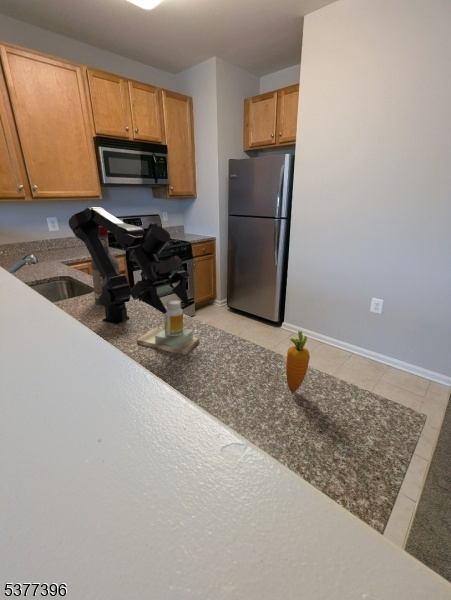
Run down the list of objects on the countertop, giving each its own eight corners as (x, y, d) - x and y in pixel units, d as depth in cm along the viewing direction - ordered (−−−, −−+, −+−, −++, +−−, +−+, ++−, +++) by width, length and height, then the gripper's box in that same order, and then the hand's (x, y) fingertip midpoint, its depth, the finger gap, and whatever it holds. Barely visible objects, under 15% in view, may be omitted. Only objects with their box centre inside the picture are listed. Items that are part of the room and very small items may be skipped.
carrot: (299, 402, 60) (310, 341, 56) (278, 393, 63) (286, 334, 58) (306, 390, 64) (316, 332, 60) (285, 382, 67) (294, 326, 62)
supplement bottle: (186, 331, 83) (186, 300, 80) (176, 338, 78) (176, 306, 75) (171, 327, 85) (171, 297, 82) (160, 334, 80) (160, 302, 77)
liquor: (98, 298, 116) (91, 225, 106) (121, 298, 118) (116, 226, 108) (94, 306, 107) (86, 227, 98) (119, 305, 110) (113, 228, 100)
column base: (137, 343, 81) (136, 332, 80) (154, 331, 89) (154, 321, 88) (185, 355, 76) (185, 343, 75) (199, 341, 85) (199, 331, 83)
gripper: (135, 250, 68) (168, 302, 66) (185, 244, 83) (213, 286, 81) (117, 275, 74) (146, 323, 72) (167, 265, 89) (192, 305, 87)
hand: (177, 308), depth 78 cm, fingers open, 9 cm apart
